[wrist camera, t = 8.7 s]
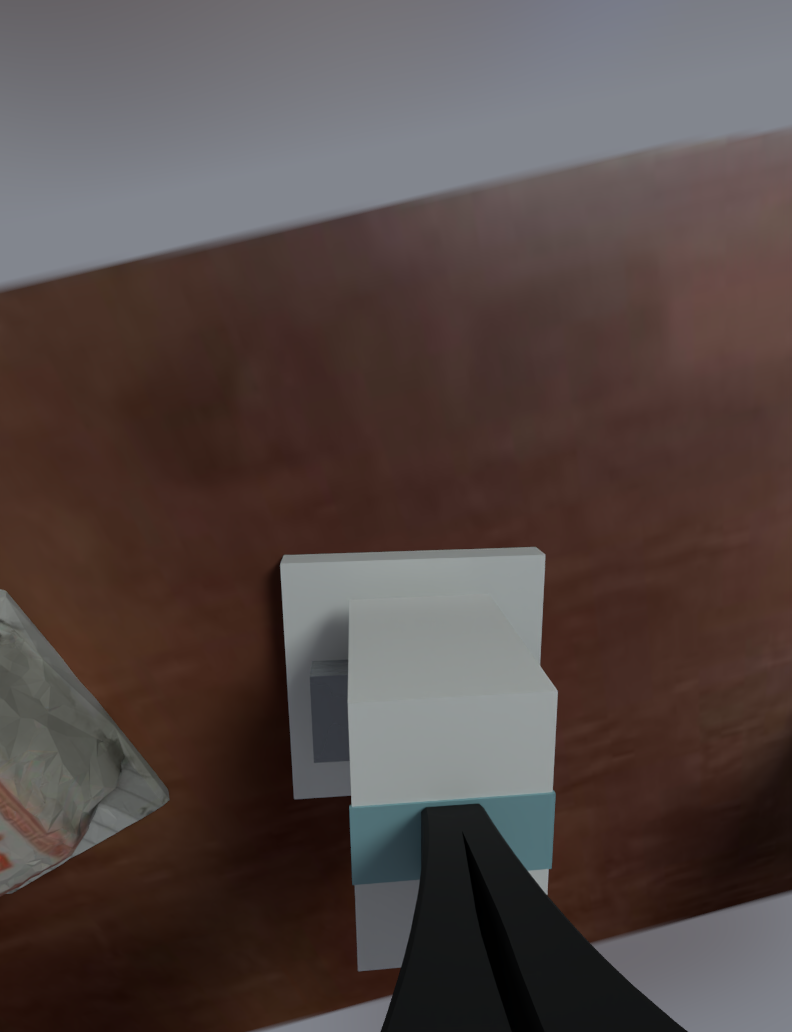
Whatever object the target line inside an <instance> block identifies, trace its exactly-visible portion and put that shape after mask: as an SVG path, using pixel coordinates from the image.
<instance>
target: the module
mask: <svg viewBox="0 0 792 1032" xmlns="http://www.w3.org/2000/svg"><path fill="white" fill-rule="evenodd" d="M557 696H558V691H557V689H556V688H555V686H554V685H553V684H552V682H551V681H550V679H549V678H548V677H547V675H546V674H545V672H544V671H543V670H542V668H541V667H540V665H539V664H538V663H537V661H536V660H535V658H534V657H533V655H532V654H531V653H530V651H529V650H528V648H527V647H526V646H525V644H524V643H523V641H522V640H521V639H520V637H519V636H518V634H517V633H516V632H515V630H514V629H513V627H512V626H511V624H510V623H509V622H508V620H507V619H506V617H505V616H504V615H503V613H502V612H501V610H500V609H499V608H498V606H497V605H496V603H495V602H494V600H493V599H492V598H491V596H490V595H489V594H468V595H445V596H422V597H399V598H377V599H354V600H349V653H348V725H349V751H350V777H351V803H352V805H349V812H350V837H351V862H352V885H355V906H356V931H357V957H358V971H367V970H378V969H388V968H399V967H401V966H402V962H403V959H404V955H405V951H406V947H407V943H408V939H409V935H410V930H411V926H412V921H413V916H414V911H415V906H416V901H417V896H418V890H419V882H420V875H421V812H422V811H423V810H424V809H425V808H426V807H436V806H450V805H465V804H480V805H481V806H482V807H484V809H485V811H486V812H487V814H488V815H489V817H490V818H491V820H492V822H493V823H494V825H495V826H496V828H497V829H498V831H499V832H500V834H501V835H502V837H503V838H504V839H505V841H506V842H507V844H508V845H509V846H510V848H511V849H512V851H513V852H514V853H515V855H516V856H517V857H518V859H519V860H520V862H521V863H522V864H523V865H524V867H525V868H526V869H527V871H528V872H529V873H530V874H531V876H532V877H533V878H534V880H535V881H536V882H537V883H538V885H539V886H540V887H541V888H542V890H543V891H544V892H545V893H546V895H547V889H548V870H549V869H552V850H553V831H554V813H555V792H554V791H553V773H554V754H555V735H556V715H557Z"/></svg>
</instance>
